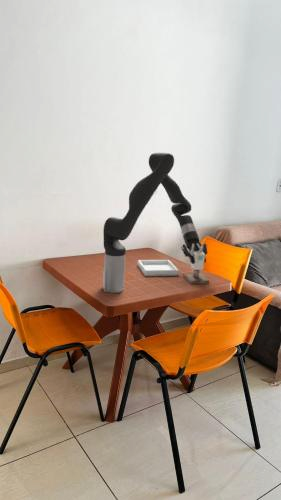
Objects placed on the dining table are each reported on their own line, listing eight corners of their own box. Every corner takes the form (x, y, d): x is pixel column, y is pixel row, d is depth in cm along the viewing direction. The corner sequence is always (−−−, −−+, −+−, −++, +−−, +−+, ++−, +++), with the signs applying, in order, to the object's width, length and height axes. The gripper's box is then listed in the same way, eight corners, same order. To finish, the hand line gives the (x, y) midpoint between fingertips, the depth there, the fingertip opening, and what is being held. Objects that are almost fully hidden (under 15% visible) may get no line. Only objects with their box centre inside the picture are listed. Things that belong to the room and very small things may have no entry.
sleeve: (194, 270, 189) (196, 254, 187) (190, 266, 195) (192, 251, 193) (204, 270, 190) (205, 254, 188) (199, 266, 196) (201, 251, 194)
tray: (145, 276, 196) (145, 270, 195) (137, 265, 212) (137, 260, 212) (178, 275, 200) (178, 270, 199) (168, 265, 217) (168, 259, 216)
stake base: (189, 283, 189) (190, 273, 188) (183, 276, 198) (184, 266, 197) (208, 283, 191) (209, 272, 190) (201, 276, 201) (202, 266, 199)
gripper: (180, 230, 192) (189, 260, 185) (204, 230, 198) (215, 258, 190) (174, 238, 198) (183, 267, 191) (198, 237, 204) (207, 265, 196)
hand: (199, 262), depth 191 cm, fingers closed on sleeve, 5 cm apart
